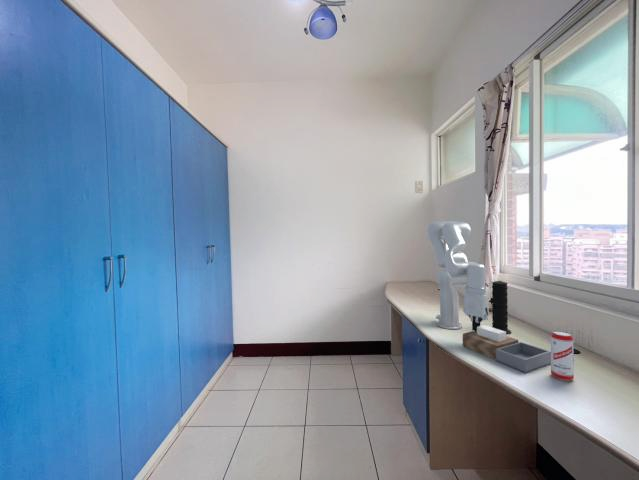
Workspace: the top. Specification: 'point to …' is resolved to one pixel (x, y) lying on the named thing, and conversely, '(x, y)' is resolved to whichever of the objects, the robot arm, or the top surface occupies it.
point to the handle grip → (500, 306)
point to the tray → (523, 357)
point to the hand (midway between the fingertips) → (476, 330)
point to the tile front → (496, 335)
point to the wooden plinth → (485, 343)
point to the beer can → (562, 355)
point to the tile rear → (483, 330)
